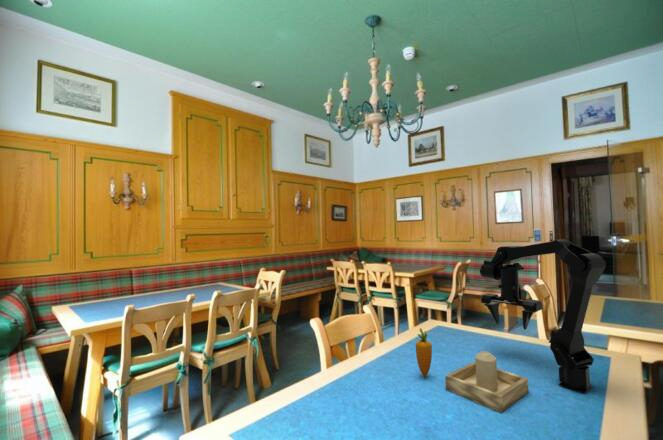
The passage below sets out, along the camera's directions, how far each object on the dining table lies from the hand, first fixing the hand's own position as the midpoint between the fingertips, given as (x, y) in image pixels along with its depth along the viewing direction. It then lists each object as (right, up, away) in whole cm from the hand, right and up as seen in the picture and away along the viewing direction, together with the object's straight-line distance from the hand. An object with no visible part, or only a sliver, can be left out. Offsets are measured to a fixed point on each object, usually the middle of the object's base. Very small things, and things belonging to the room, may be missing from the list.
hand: (511, 326), depth 116 cm
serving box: (-18, -12, -21) cm, 30 cm away
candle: (-18, -11, -21) cm, 30 cm away
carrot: (-33, -13, -11) cm, 37 cm away
